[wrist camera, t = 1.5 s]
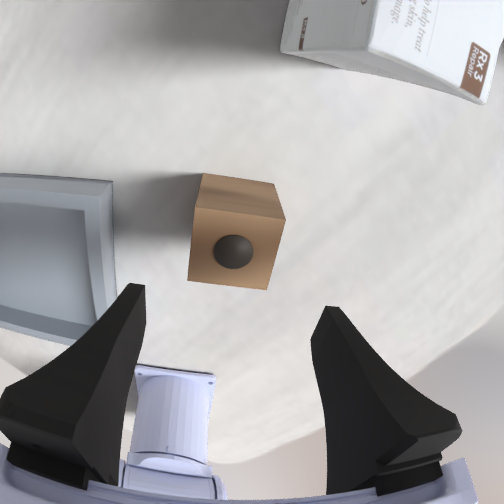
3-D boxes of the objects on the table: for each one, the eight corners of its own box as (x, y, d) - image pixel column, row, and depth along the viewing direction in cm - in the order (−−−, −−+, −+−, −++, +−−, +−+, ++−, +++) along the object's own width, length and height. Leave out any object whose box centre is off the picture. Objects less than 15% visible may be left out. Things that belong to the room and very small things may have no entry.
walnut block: (259, 243, 22) (266, 291, 18) (195, 234, 22) (187, 281, 17) (273, 183, 20) (286, 220, 16) (203, 172, 19) (194, 207, 15)
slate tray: (121, 333, 26) (114, 355, 24) (-3, 306, 24) (-14, 322, 22) (112, 181, 19) (98, 196, 17) (-36, 172, 17) (-55, 184, 15)
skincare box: (296, -34, 12) (381, -136, 2) (369, -12, 13) (513, -56, 3) (276, 57, 16) (350, 45, 6) (350, 76, 16) (493, 111, 6)
